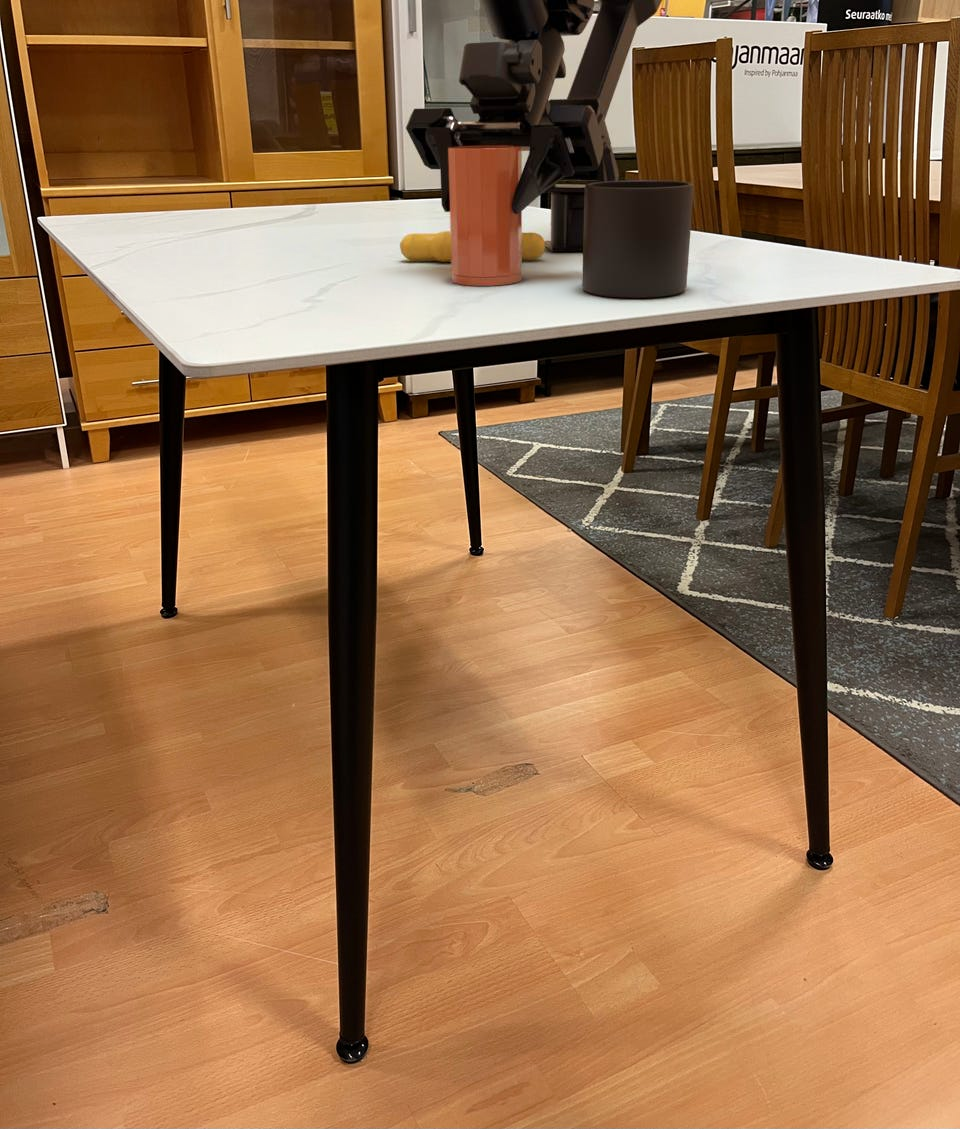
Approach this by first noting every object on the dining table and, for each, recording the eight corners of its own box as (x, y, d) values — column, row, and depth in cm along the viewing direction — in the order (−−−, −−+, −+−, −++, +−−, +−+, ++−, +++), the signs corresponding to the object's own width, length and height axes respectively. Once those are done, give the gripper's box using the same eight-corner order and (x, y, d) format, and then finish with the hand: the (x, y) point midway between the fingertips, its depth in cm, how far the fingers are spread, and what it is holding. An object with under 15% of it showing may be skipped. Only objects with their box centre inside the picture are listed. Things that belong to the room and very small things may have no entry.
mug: (675, 276, 94) (682, 177, 90) (693, 298, 83) (701, 187, 79) (579, 277, 95) (581, 178, 91) (584, 299, 84) (587, 188, 80)
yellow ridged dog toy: (397, 264, 105) (395, 233, 103) (402, 259, 108) (400, 229, 107) (544, 263, 104) (545, 232, 102) (545, 258, 107) (545, 228, 106)
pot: (449, 275, 97) (445, 146, 92) (515, 273, 98) (515, 144, 92) (454, 287, 91) (450, 149, 86) (525, 284, 91) (526, 147, 86)
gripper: (410, 14, 91) (357, 146, 87) (598, 2, 84) (550, 146, 79) (449, 105, 101) (404, 228, 96) (621, 102, 93) (580, 234, 89)
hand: (479, 209), depth 90 cm, fingers closed on pot, 7 cm apart
